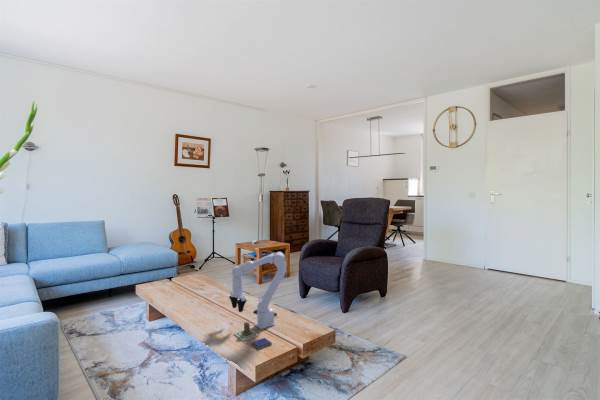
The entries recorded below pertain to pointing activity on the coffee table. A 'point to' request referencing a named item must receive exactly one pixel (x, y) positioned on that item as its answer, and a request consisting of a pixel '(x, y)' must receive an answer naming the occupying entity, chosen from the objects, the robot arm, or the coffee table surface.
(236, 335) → the board
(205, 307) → the coffee table surface
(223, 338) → the coffee table surface
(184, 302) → the coffee table surface
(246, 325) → the stamp
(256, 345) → the ink pad
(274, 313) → the phone
